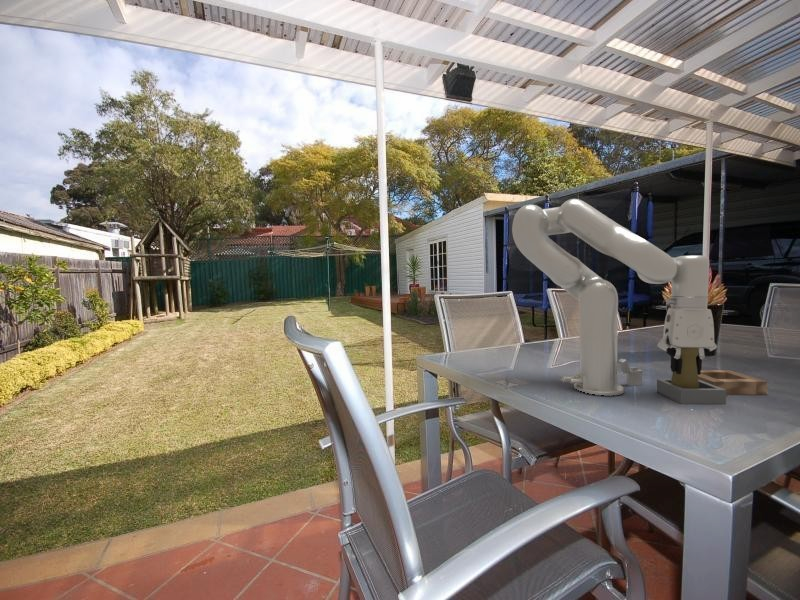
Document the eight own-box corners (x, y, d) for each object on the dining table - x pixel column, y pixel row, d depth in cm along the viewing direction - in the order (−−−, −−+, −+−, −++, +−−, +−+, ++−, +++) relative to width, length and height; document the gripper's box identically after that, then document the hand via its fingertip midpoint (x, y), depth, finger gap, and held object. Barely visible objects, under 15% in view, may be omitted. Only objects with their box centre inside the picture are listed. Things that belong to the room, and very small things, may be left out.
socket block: (713, 394, 100) (713, 381, 100) (682, 381, 113) (682, 370, 113) (766, 394, 99) (767, 381, 99) (728, 381, 112) (729, 370, 112)
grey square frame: (681, 403, 94) (681, 389, 94) (657, 391, 104) (656, 379, 104) (726, 403, 93) (726, 389, 93) (697, 391, 103) (697, 379, 103)
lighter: (637, 383, 113) (637, 357, 113) (642, 384, 112) (642, 358, 111) (617, 385, 112) (617, 358, 111) (622, 387, 110) (622, 359, 110)
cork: (704, 389, 95) (706, 346, 95) (677, 387, 97) (679, 345, 96) (691, 382, 101) (693, 342, 101) (666, 381, 103) (668, 341, 102)
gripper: (663, 304, 95) (660, 376, 96) (735, 304, 93) (731, 377, 94) (646, 302, 102) (644, 368, 103) (713, 302, 101) (709, 370, 102)
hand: (685, 372), depth 99 cm, fingers closed on cork, 3 cm apart
